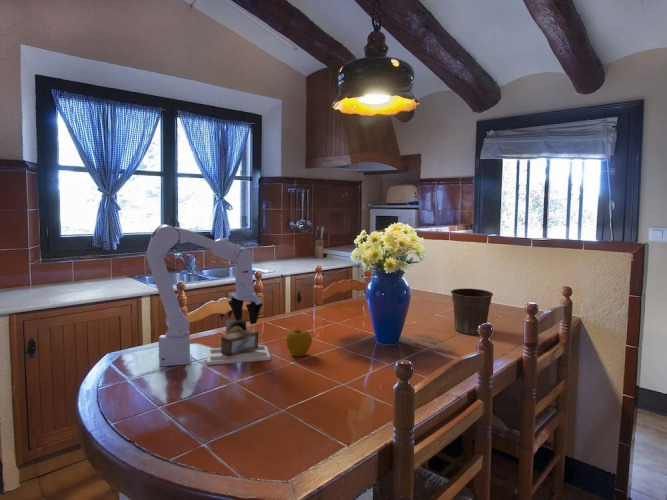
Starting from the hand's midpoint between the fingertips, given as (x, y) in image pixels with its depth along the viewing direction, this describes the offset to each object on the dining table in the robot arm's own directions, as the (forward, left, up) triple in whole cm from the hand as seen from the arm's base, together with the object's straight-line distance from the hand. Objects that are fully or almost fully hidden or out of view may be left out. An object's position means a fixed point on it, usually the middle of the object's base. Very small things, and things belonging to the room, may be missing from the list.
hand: (246, 321), depth 153 cm
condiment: (-3, +11, -6) cm, 13 cm away
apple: (+17, -7, -11) cm, 21 cm away
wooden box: (-2, -5, -9) cm, 10 cm away
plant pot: (+90, +5, -11) cm, 91 cm away
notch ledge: (-3, -4, -11) cm, 12 cm away
